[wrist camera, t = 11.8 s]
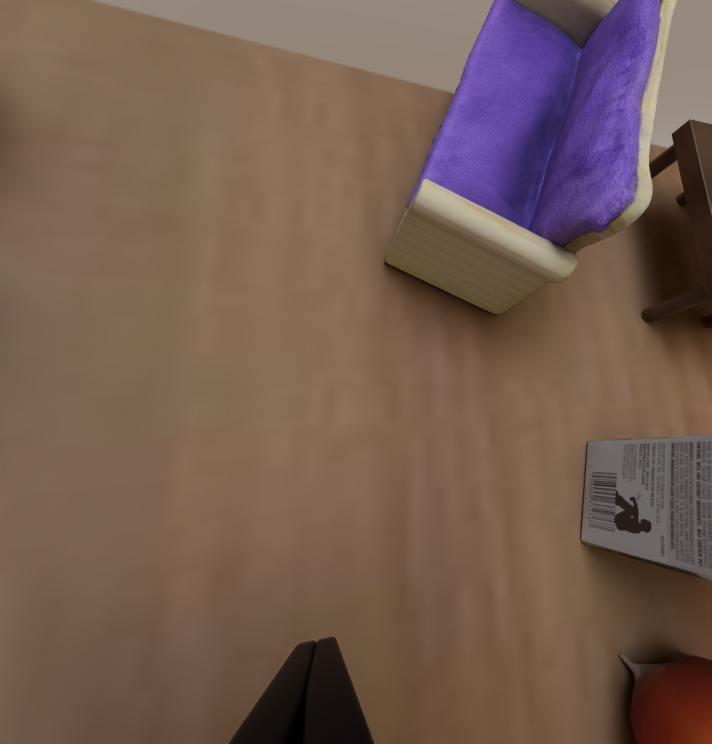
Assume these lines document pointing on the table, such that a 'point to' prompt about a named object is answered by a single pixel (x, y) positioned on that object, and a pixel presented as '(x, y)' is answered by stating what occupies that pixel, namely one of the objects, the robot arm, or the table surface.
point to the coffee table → (691, 209)
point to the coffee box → (651, 501)
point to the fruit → (672, 701)
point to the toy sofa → (537, 148)
